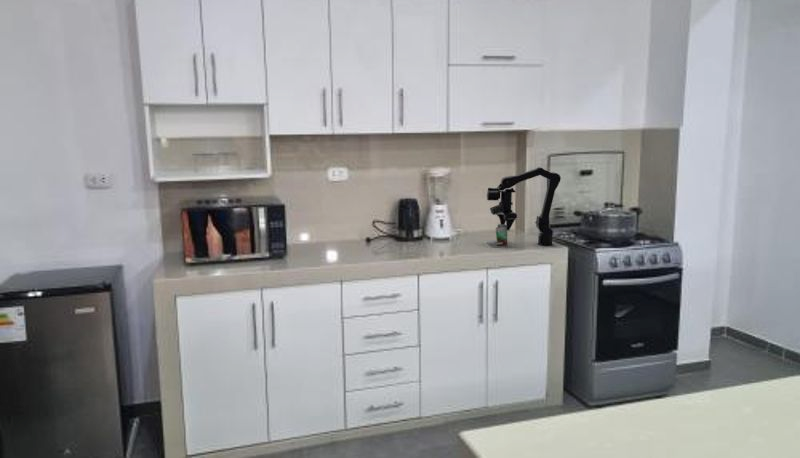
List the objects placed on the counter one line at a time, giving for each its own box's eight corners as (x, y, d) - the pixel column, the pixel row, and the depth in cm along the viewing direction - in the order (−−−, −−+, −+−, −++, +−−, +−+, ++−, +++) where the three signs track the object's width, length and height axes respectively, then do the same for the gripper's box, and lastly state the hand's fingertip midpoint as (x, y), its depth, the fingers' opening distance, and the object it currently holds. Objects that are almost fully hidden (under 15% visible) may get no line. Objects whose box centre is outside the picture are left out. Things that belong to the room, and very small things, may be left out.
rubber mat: (498, 242, 328) (498, 242, 328) (505, 247, 316) (505, 246, 316) (487, 243, 327) (487, 242, 327) (494, 247, 315) (494, 246, 315)
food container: (508, 245, 315) (507, 227, 313) (497, 246, 316) (495, 228, 315) (510, 241, 326) (509, 223, 325) (499, 241, 328) (497, 224, 326)
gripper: (486, 198, 326) (485, 226, 329) (497, 203, 308) (496, 232, 311) (505, 197, 328) (505, 225, 331) (517, 202, 310) (516, 231, 313)
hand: (505, 228), depth 321 cm, fingers open, 9 cm apart
